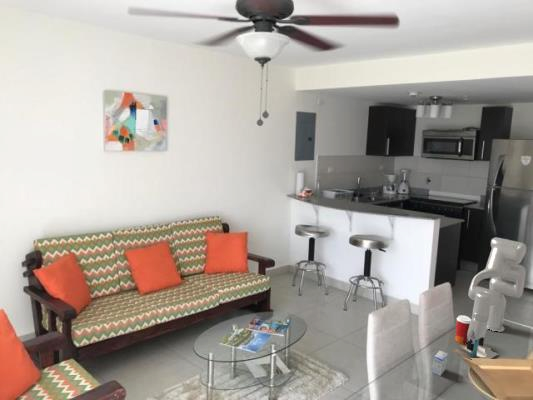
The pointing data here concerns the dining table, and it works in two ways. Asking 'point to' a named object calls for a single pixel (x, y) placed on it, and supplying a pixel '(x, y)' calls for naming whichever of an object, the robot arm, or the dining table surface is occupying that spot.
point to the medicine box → (439, 363)
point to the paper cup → (462, 329)
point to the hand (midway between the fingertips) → (474, 347)
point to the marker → (475, 348)
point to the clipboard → (466, 352)
